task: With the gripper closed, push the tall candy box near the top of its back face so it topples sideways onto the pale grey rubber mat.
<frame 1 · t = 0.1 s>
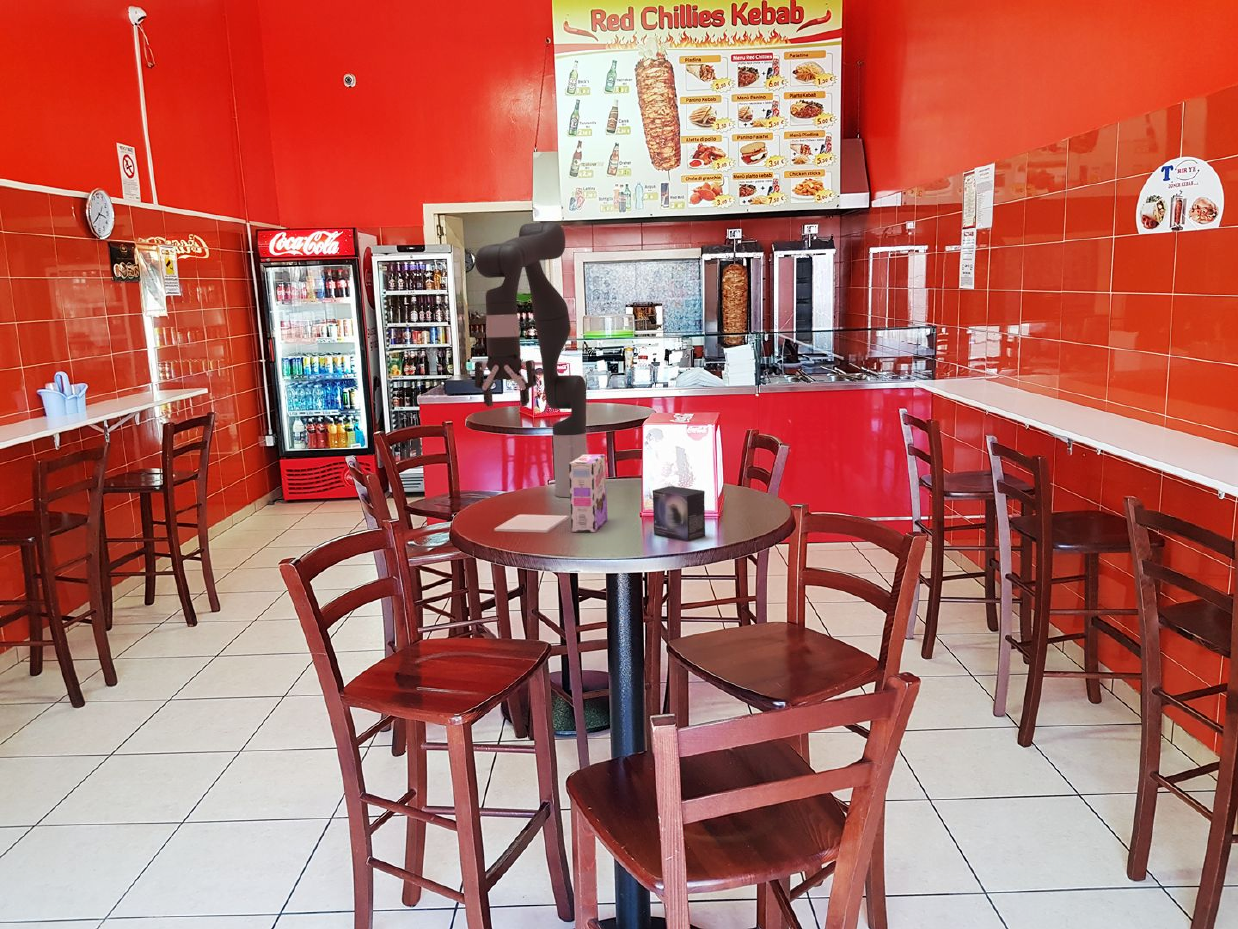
hand: (506, 406, 221), 29 cm above the table, fingers open, 8 cm apart
small box: (679, 536, 214), on the table
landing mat: (532, 524, 231), on the table
candy box: (590, 527, 227), on the table
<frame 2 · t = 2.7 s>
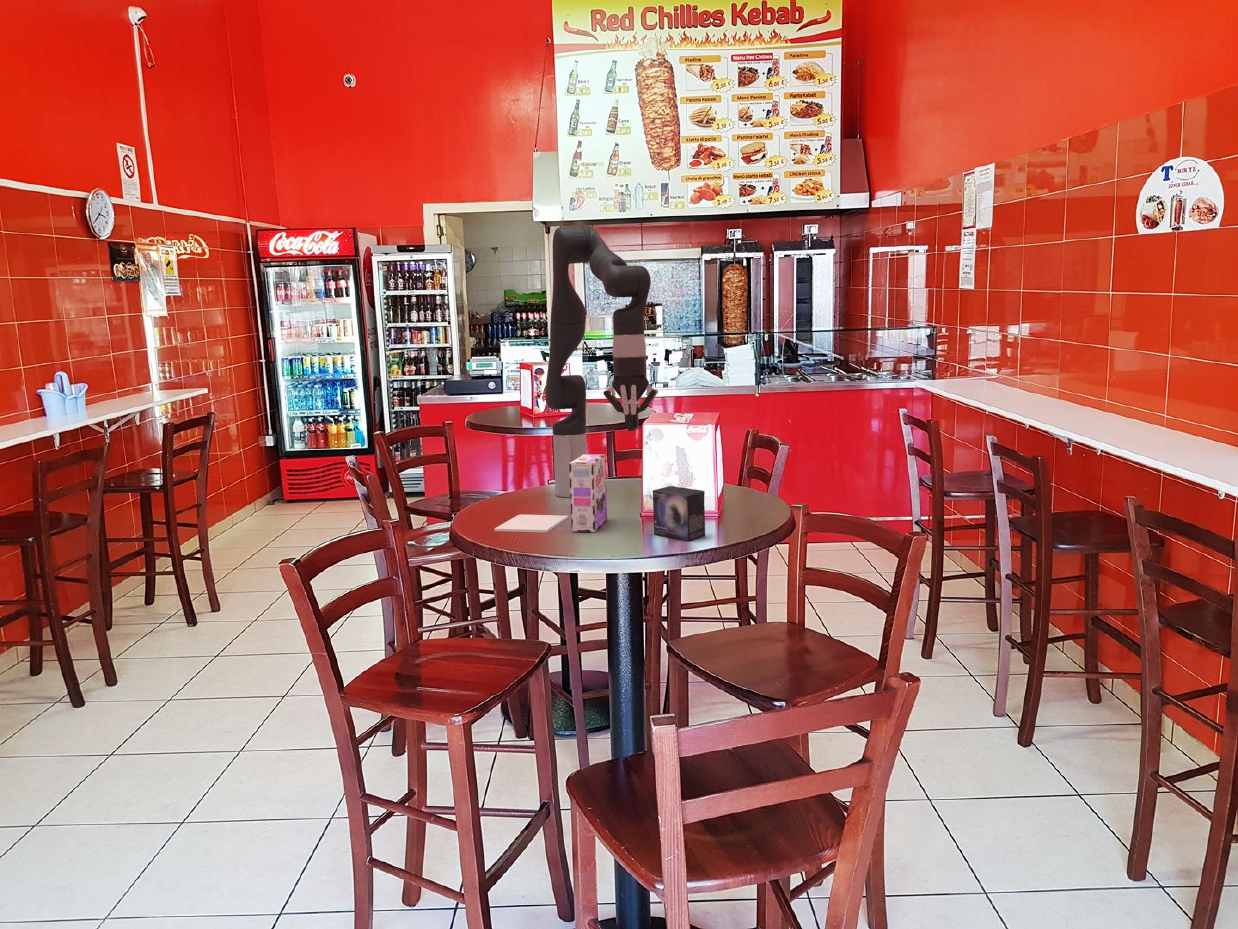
hand: (631, 430, 221), 23 cm above the table, fingers closed
nothing on the table moved.
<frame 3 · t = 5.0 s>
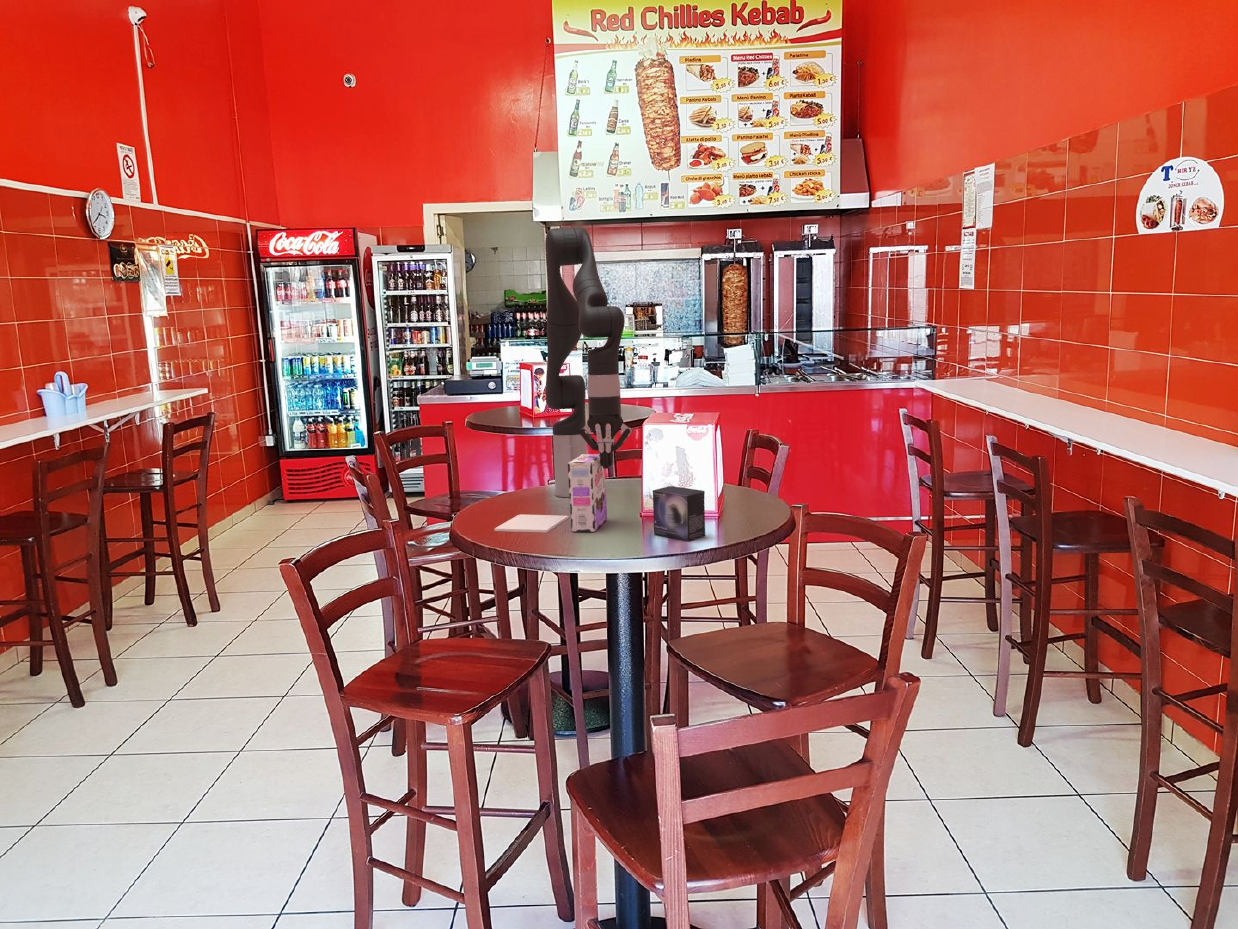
hand: (606, 468, 224), 14 cm above the table, fingers closed
candy box: (590, 526, 227), on the table, touching gripper
everything else where it was.
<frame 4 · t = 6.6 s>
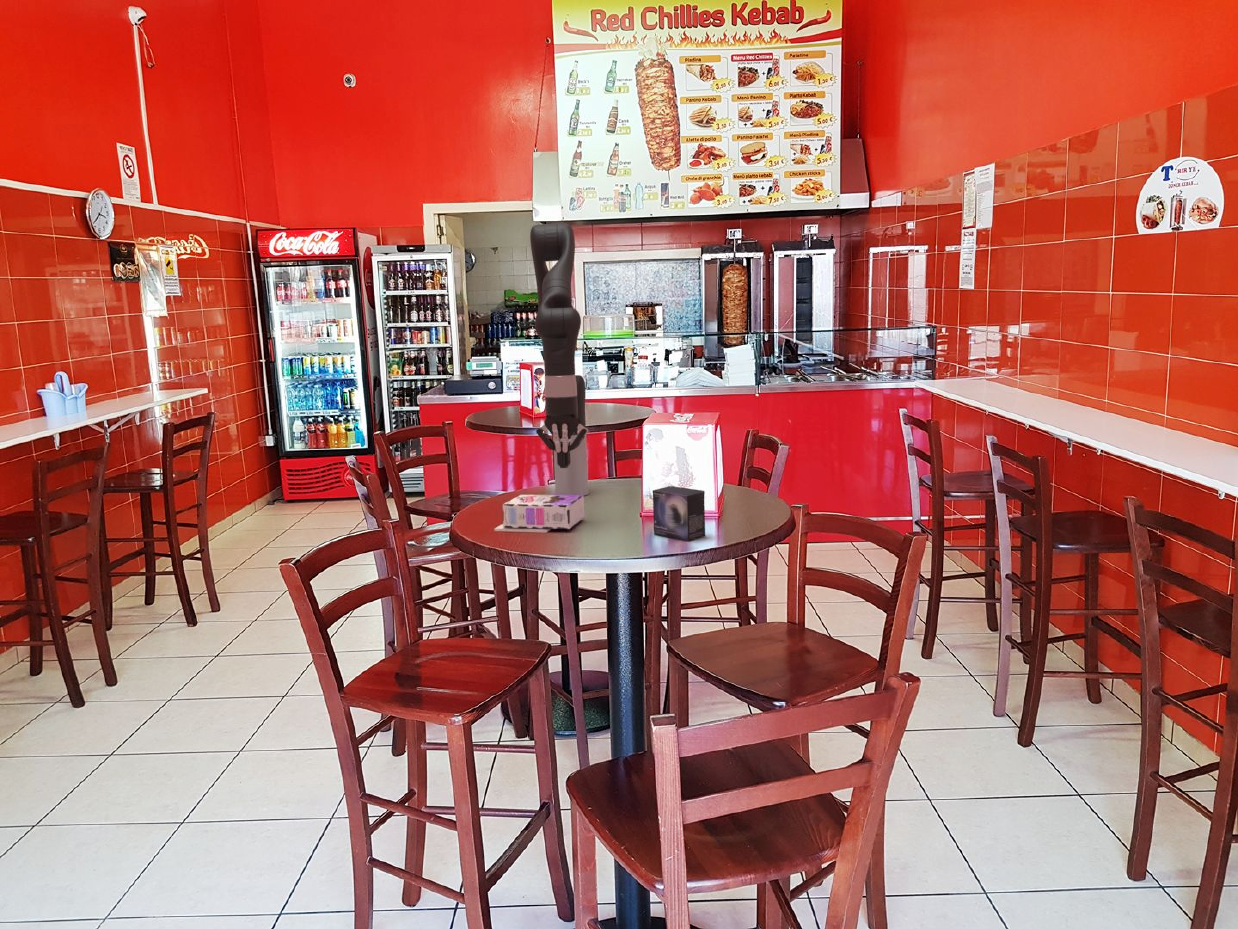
hand: (564, 467, 227), 14 cm above the table, fingers closed
candy box: (578, 511, 227), point 4 cm above the table, touching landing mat
everything else where it was.
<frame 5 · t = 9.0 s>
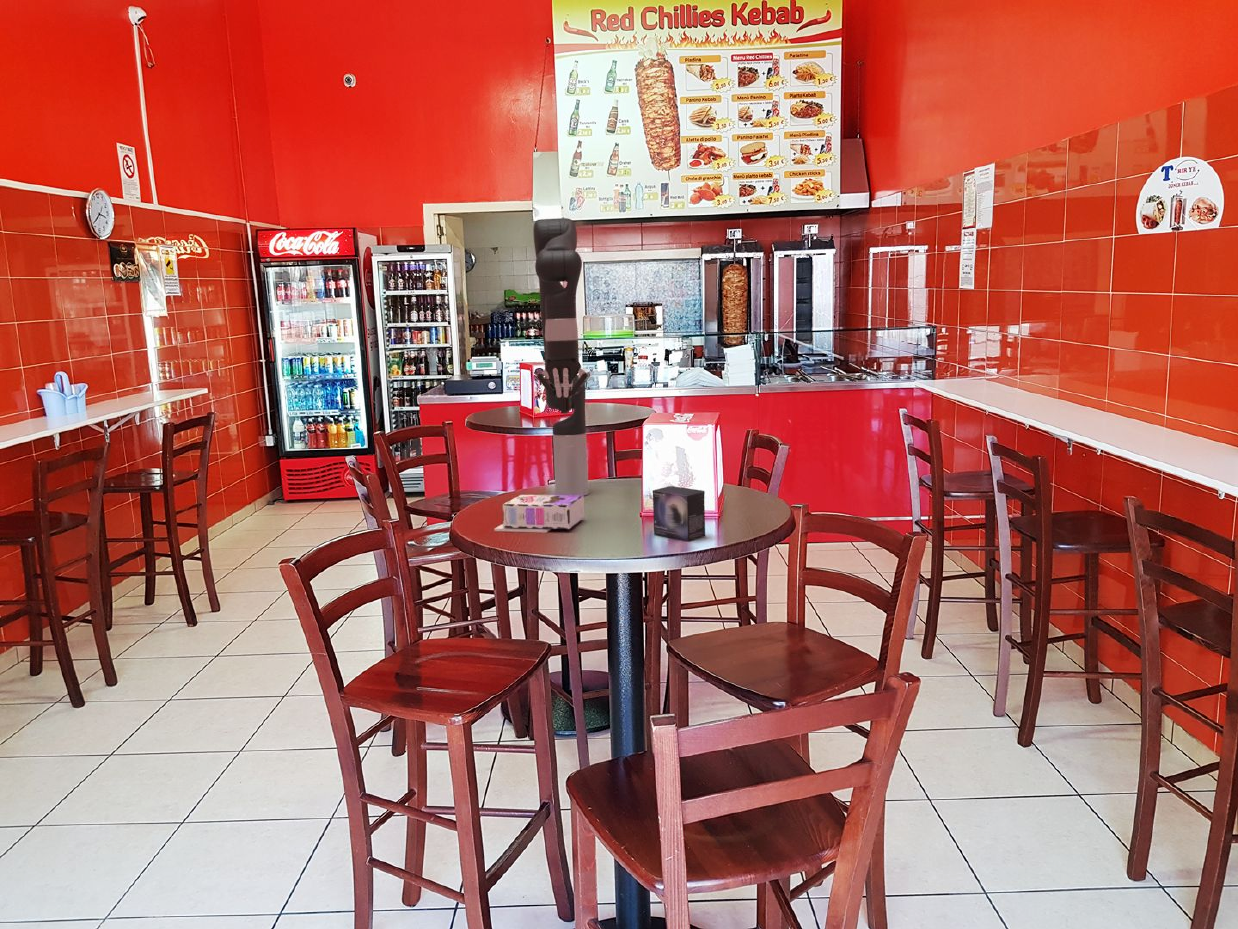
hand: (564, 413, 225), 27 cm above the table, fingers closed
nothing on the table moved.
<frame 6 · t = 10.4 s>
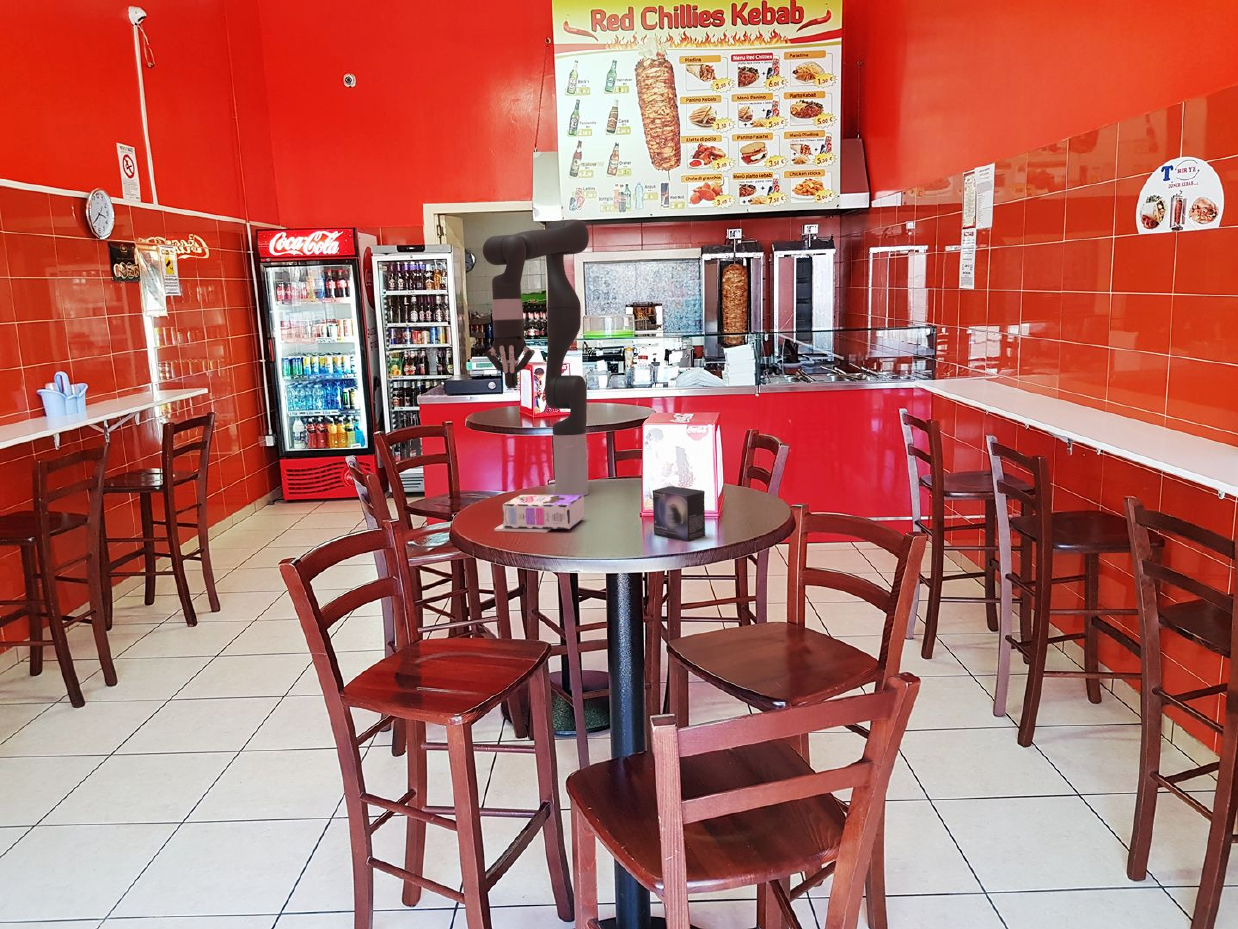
hand: (511, 388, 240), 32 cm above the table, fingers closed
nothing on the table moved.
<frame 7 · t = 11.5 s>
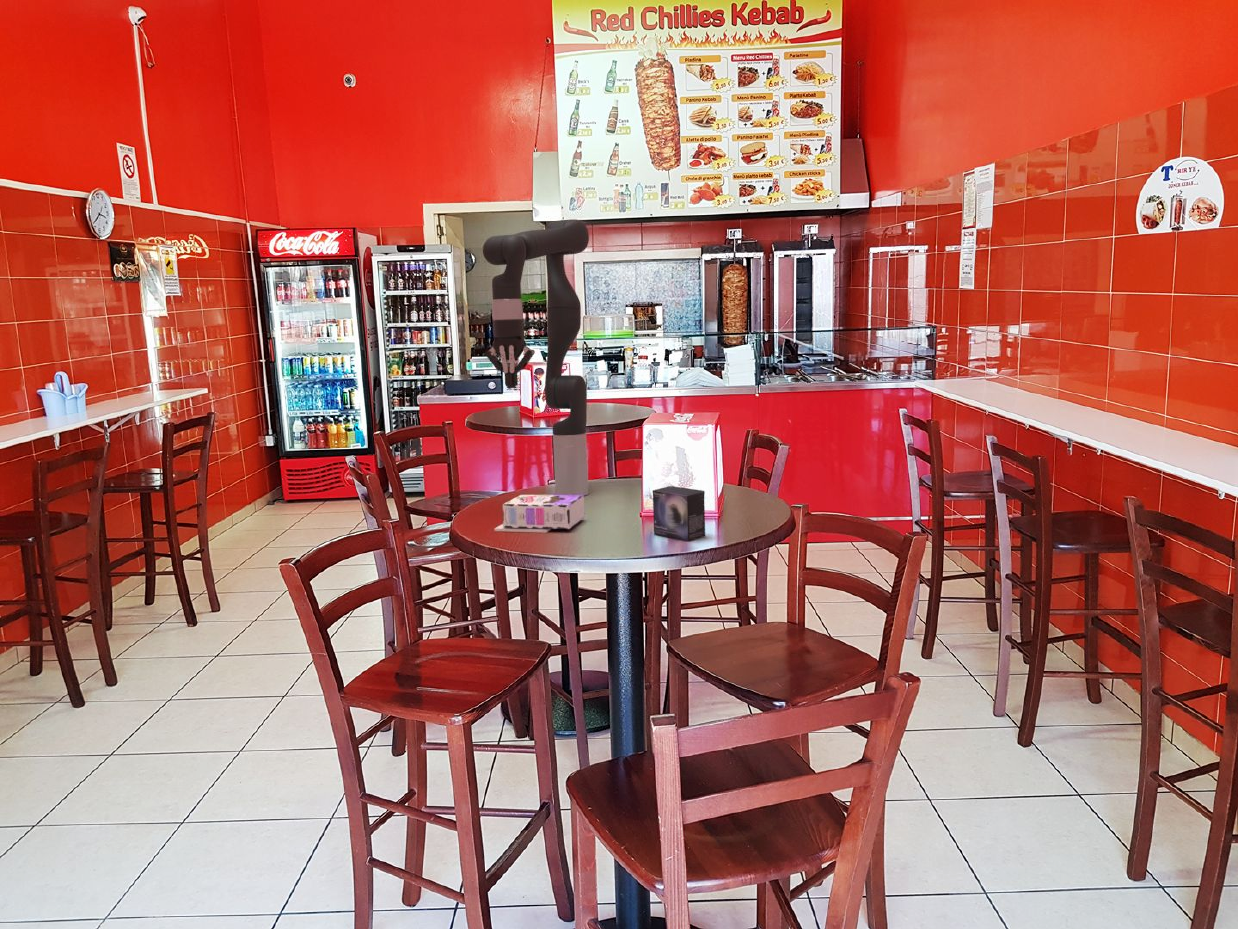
hand: (511, 387, 240), 32 cm above the table, fingers closed
nothing on the table moved.
at the end: candy box tilted 90°; candy box inside the target area (9.4 cm from its centre), point 3.5 cm above the table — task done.
